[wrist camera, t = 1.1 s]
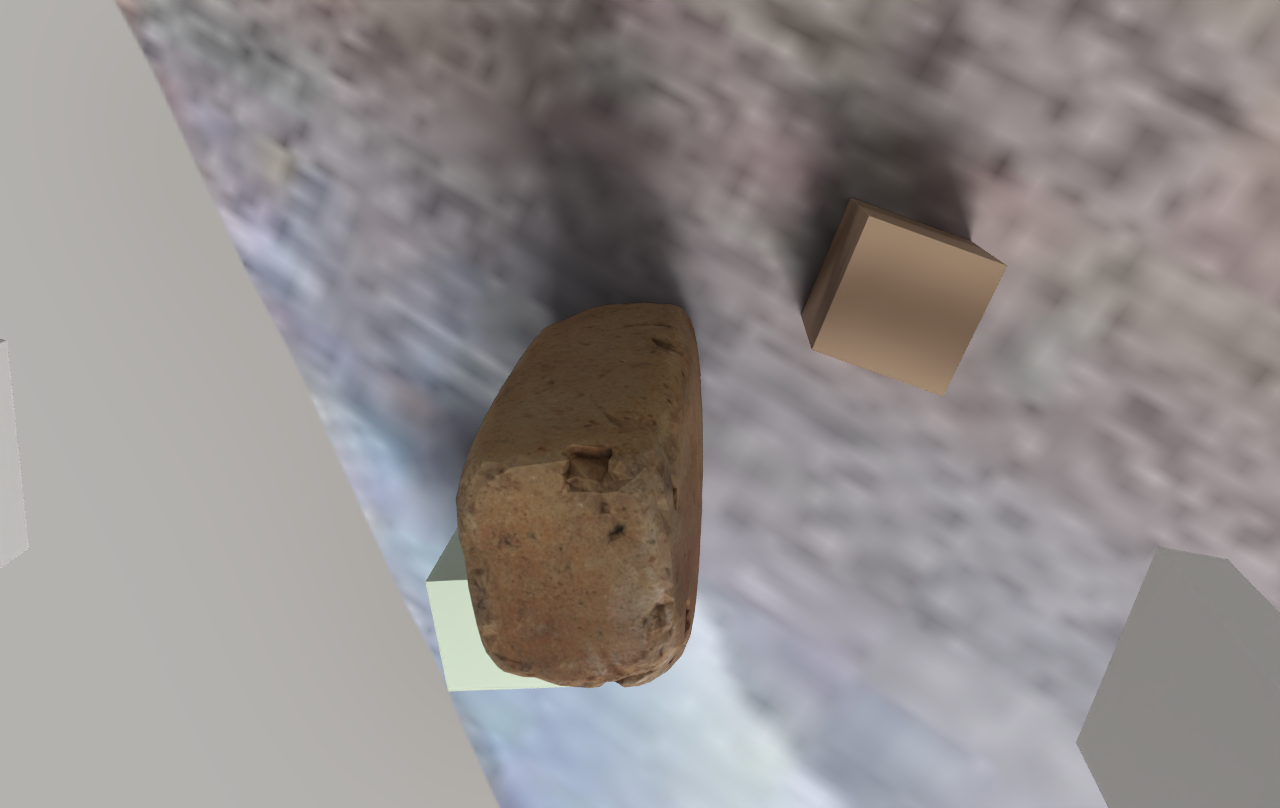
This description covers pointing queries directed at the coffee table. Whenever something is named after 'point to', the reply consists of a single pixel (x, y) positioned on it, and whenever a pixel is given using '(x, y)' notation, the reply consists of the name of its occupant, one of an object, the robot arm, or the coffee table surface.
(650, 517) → the pitted sandstone rock
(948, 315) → the walnut block
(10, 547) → the robot arm
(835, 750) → the coffee table surface
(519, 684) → the green block
